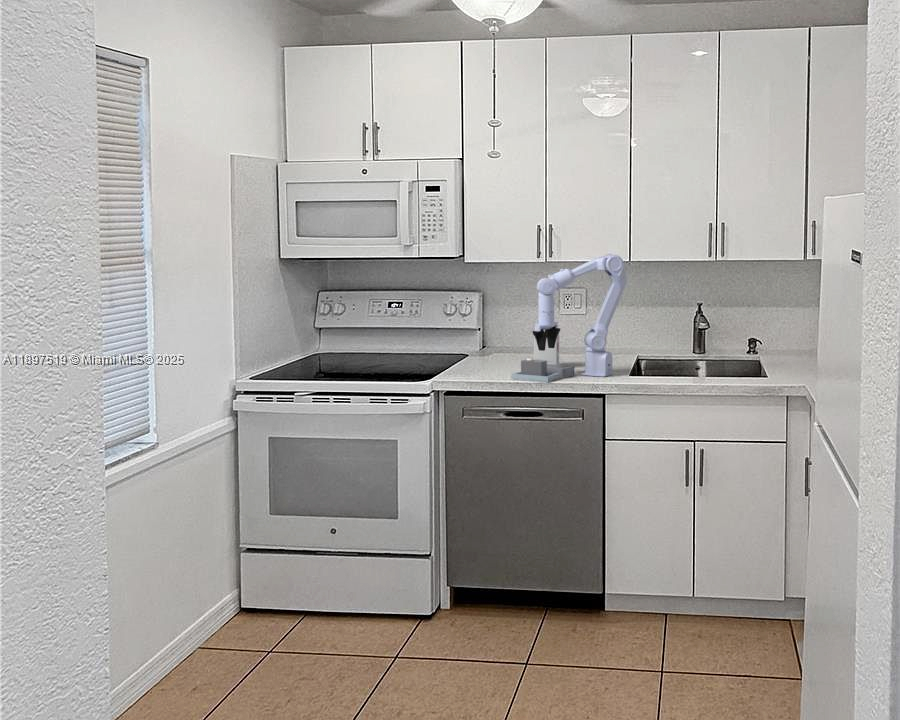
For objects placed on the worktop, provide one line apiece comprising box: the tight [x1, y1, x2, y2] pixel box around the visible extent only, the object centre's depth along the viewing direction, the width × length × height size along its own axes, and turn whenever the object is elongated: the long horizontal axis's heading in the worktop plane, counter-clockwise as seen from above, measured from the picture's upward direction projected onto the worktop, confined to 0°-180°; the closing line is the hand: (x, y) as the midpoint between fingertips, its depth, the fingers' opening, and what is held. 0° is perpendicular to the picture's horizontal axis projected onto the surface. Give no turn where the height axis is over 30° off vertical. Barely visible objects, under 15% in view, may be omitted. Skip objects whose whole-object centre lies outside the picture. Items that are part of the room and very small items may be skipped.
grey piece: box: [533, 329, 560, 365], centre depth 437 cm, size 9×9×15 cm
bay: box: [547, 364, 575, 379], centre depth 417 cm, size 11×8×4 cm
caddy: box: [520, 358, 547, 376], centre depth 409 cm, size 8×4×7 cm, turn 60°
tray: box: [510, 371, 561, 383], centre depth 409 cm, size 15×9×2 cm, turn 57°
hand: (546, 349), depth 415 cm, fingers open, 7 cm apart
